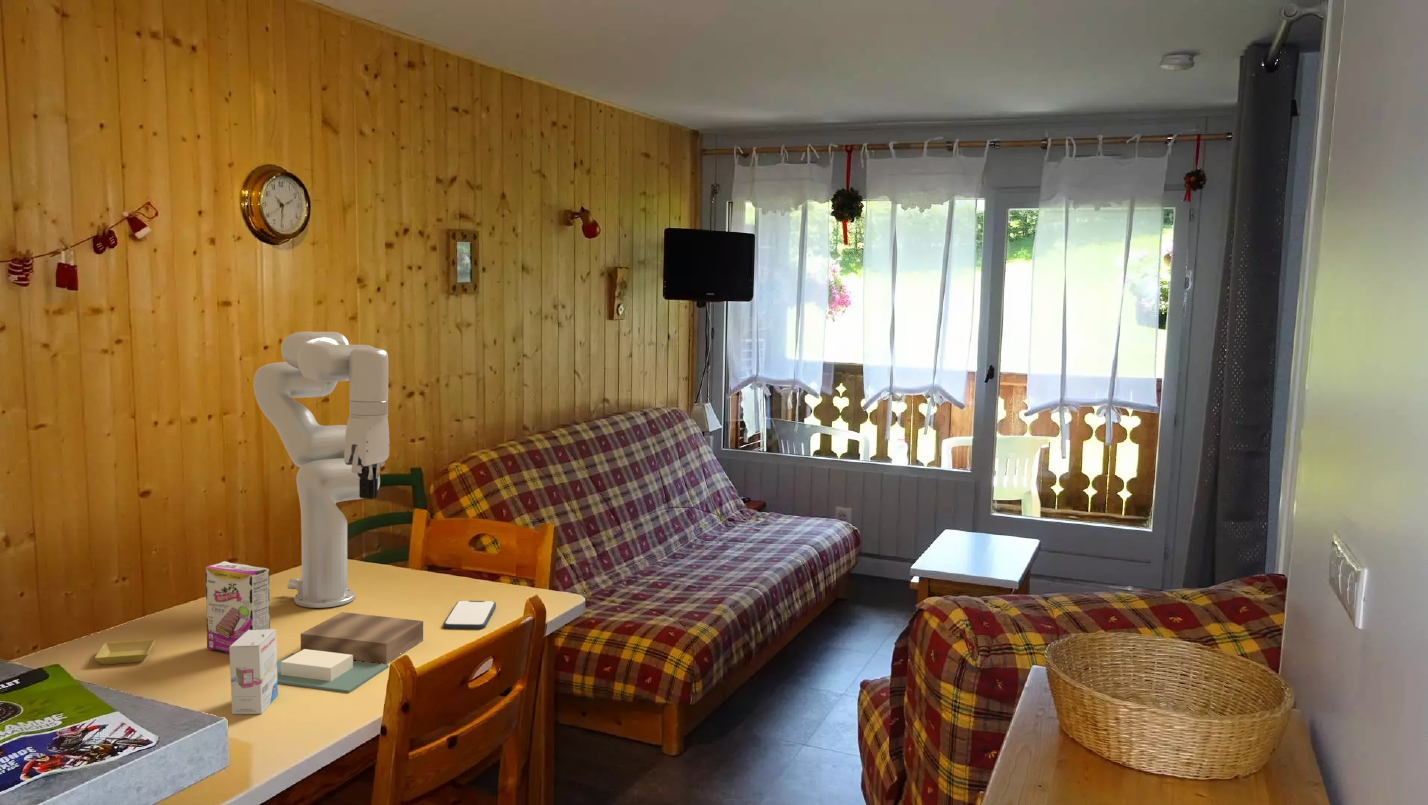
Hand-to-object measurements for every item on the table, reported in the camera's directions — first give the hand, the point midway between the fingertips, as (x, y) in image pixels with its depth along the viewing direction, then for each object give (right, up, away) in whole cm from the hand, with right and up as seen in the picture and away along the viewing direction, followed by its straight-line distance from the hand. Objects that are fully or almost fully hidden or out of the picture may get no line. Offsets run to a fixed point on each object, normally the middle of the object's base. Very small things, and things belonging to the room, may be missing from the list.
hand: (368, 497), depth 211 cm
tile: (-1, -28, -24) cm, 37 cm away
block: (+2, -28, -10) cm, 30 cm away
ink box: (-6, -31, -39) cm, 50 cm away
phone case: (+18, -27, +11) cm, 35 cm away
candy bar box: (-20, -28, -14) cm, 37 cm away
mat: (-1, -30, -24) cm, 38 cm away
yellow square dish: (-39, -29, -20) cm, 52 cm away
